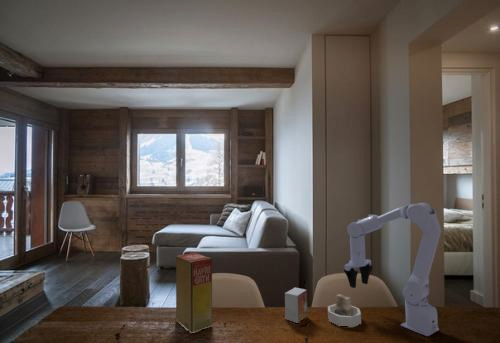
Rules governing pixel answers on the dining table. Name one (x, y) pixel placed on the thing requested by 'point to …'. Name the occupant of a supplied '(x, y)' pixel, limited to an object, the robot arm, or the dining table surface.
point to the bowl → (344, 317)
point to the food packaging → (194, 291)
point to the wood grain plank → (343, 304)
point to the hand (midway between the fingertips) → (358, 285)
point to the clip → (342, 312)
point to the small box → (296, 304)
